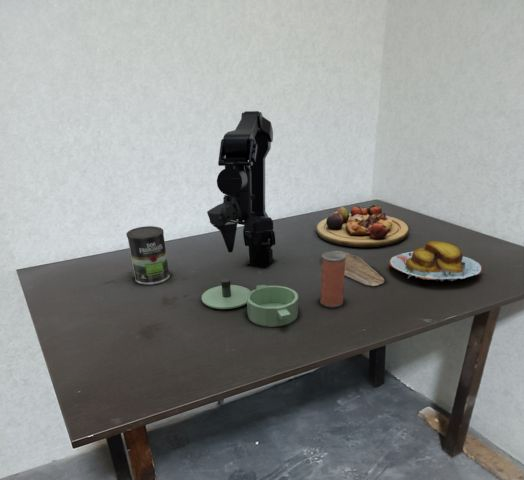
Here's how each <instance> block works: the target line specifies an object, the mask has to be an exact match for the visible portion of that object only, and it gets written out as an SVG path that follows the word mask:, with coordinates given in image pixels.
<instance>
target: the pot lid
mask: <svg viewBox="0 0 524 480" xmlns="http://www.w3.org/2000/svg"><path fill="white" fill-rule="evenodd" d="M251 291H252V290H250V289H249V288H247V287H244V286H241V285H236V284H231V279H230V278H227V277H226V278H222V279H221V280H220V285H218V286H214V287H211V288H209V289H207V290H205V291H204V292H203V294H202V295H201V302H202V303H203V304H204V305H205V306H207V307H209V308H211V309H216V310H231V309H236V308H240V307H244V306H245V305H247V295H248V294H249V293H250V292H251Z"/></svg>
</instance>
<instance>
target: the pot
mask: <svg viewBox="0 0 524 480" xmlns="http://www.w3.org/2000/svg"><path fill="white" fill-rule="evenodd" d="M255 287H256V288H255V289H252V290H250V291H251V292H250V293H249V294H248V295H247V304H246V308H247V312H246V313H247V317H248V320H249V321H251V322H252V323H253V324H256V325H258V326H262V327H276V328H277V327H283V326H286V325H289V324H291V323H293V322H294V321H296V319H297V318H298V316H299V294H298V292H296V291H295V290H294V289H293V288H290V287H287V286H281V285H266V284H264V283H263V284H258V285H256V286H255Z"/></svg>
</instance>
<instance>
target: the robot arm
mask: <svg viewBox="0 0 524 480" xmlns="http://www.w3.org/2000/svg"><path fill="white" fill-rule="evenodd" d="M240 117H241V119H240V121H239V123H238V124H237V126H236V127H235V129H234V130H231V131H230V130H229V131H227V132H226V133H225V134H224V135H223V138H222V139H221V140H220V147H219V153H218V162H217V164H218V167H224V168H223V169H222V170H220V172H219V173H218V175H217V177H216V185H217V188H218V190H219V191H220V192H221V194H223V199H222V200H223V201H222V203H220V204H217V205H215V206H214V207H212V208H211V209H209V210H207V211H206V213H207V216H208V219H209V224H211V225H212V226H213V227H214V228H215V229H217V230H218V231H219V232H220V234H221V236H222V239H223V241H224V244H225V246H226V249H227V252H228V253H233V252H234V247H235V241H236V237H237V229H238V225H241V226H243V231H242V233H243V234H242V235H243V240H244V241H243V242H244V247H248V261H247V262H246V265H247V266H251V267H252V266H253V267H258V268H263V269H264V268H267V267H268V266H269V265H270V264H272V263H273V262H274V261H275V260H274V256H273V255H274V254H273V250H274V249H273V248H272V247H274V246H275V245H276V244H277V243H276V233H275V231H274V220H273V219H272V217H271V216H270V217H269V215H268V213H267V212H266V158H267V156H268V154H269V152H270V151H271V148H272V143H273V142H274V129H273V125H272V122H271V120H268V119H267V118H266V117H264V116H263V113H262V112H261V111H259V110H245V111H244V112H241V116H240Z"/></svg>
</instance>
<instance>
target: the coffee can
mask: <svg viewBox="0 0 524 480" xmlns="http://www.w3.org/2000/svg"><path fill="white" fill-rule="evenodd" d="M126 238H127V241H128V247H129V253H130V258H131V262H132V268H133V275H134V280H135V282H136V283H138V284H140V285H145V286H148V285H150V286H152V285H158V284H161V283H163V282H166V281H168V280H169V278H170V277H171V275H170V269H169V264H168V263H169V262H168V256H167V249H166V241H165V232H164V229H163V228H162V227H161V226H153V225H148V226H147V225H146V226H139V227H135V228H132V229H130V230H128V231H126Z"/></svg>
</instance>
